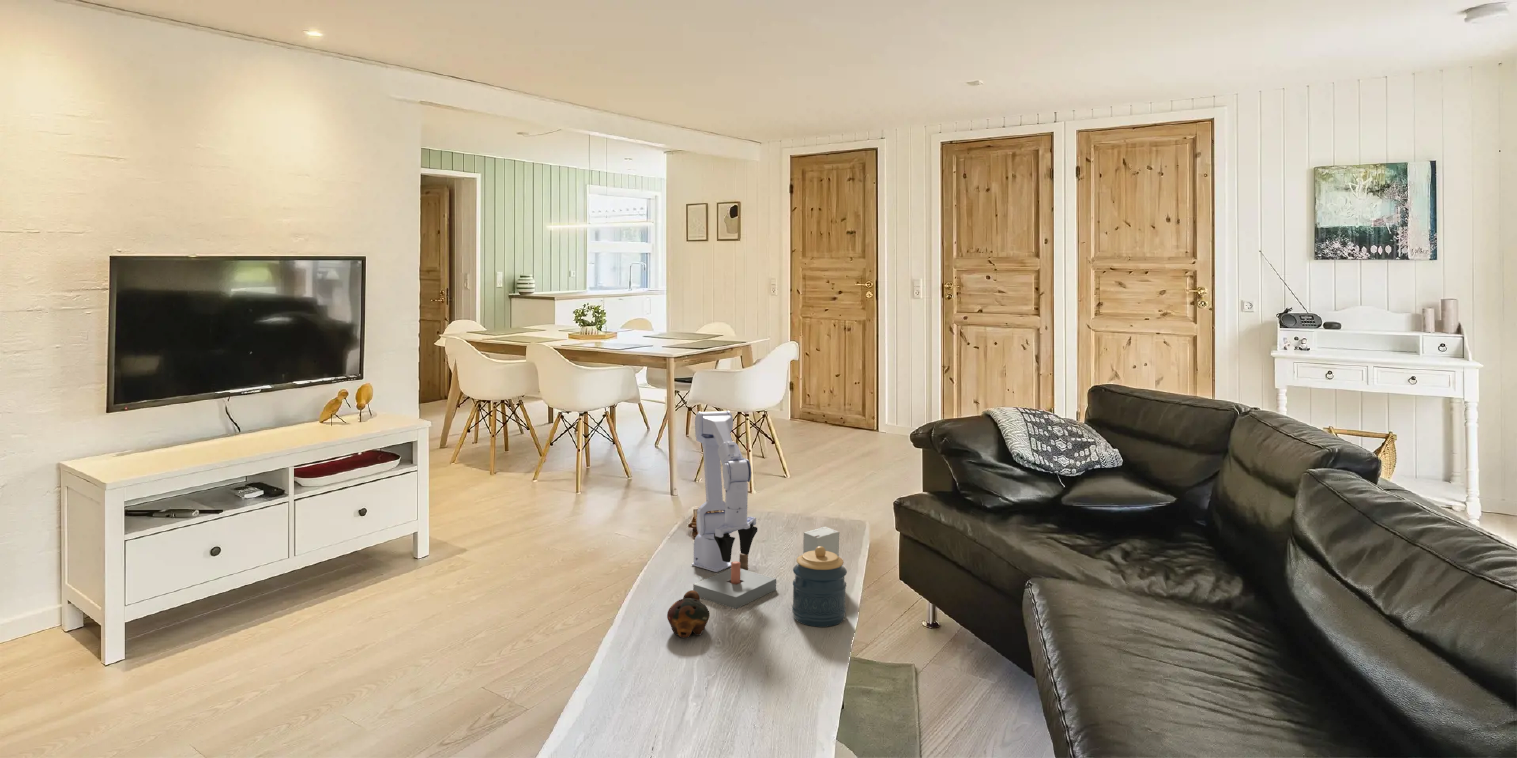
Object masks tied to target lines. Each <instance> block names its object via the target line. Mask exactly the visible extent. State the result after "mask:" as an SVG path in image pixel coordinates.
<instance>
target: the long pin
mask: <svg viewBox="0 0 1517 758" xmlns="http://www.w3.org/2000/svg"><path fill="white" fill-rule="evenodd" d="M730 562H731V561H730ZM730 569H731V583H732V584H736V585H737V584H739V583H740V562H739V561H732V562H731V567H730Z"/></svg>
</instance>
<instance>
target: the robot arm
mask: <svg viewBox="0 0 1517 758" xmlns="http://www.w3.org/2000/svg"><path fill="white" fill-rule="evenodd" d="M733 427H734V418H733V414H732V413H731V411H730V410H724V411H721V410H720V411H697V412H696V414H695V419H694V431H695V433H694V434H695V435H694V436H695V439H696V441H697V442H698V443H701V446H702V451H703V469H704V484H705V486H704V487H705V499H706V500H705V501H704V503H702V504H701V505H700V506H699V507H698V508H697V510H696V521H695V522H696V530H697V531H696V532H697V533H698V534H696V536H695V538H694V541H693V562H692V563H691V565H692V566H693V567H697V568H701V569H704V570H707V571H712V572H713V573H720V571H721V572H722V571H724V570H725V569H728V568H731V560H732V552H733V546H734V542H735V540H736V537H734V536H731V534H732V533H733V532H736V531H737V532H738V538H739V551H740V553H742V554H745V555H748V556H749V553H750V549H751V547H752V543H753V540H754V537H755V536H756V534H757V532H758V527H757V526H756V525H757V518H756V517H754V516H748V499H749V498H748V497H749V496H748V495H749V494H748V493H749V491H748V490H749V484H748V483H749V482H751V479H752V465H751V463H750V460H749V459H747V458H746V457H743V455H742V452H741V449H740V446H739V445H738V443H737V442H735V441H733V438H732V435H731V433H732V431H733ZM721 466H722V467H721ZM721 468H722V469H721ZM722 478H723V481H722ZM722 484H723V485H722ZM723 488H724V489H725V492H724V493H725V494H724V496H725V500H723V499H724V497H723ZM713 511H714V512H713ZM715 511H716V512H715ZM718 511H719V512H718Z"/></svg>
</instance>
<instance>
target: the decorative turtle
mask: <svg viewBox="0 0 1517 758" xmlns="http://www.w3.org/2000/svg"><path fill="white" fill-rule="evenodd" d="M700 599H701V598H700V597H699V594H698V593H697V592H696V591H694V590H688V591H686V592H685V594H684V595H683V598H681V599H678V600H677V601H675V602H673V604H672V605H671V606H670V607H669V608H668V610H667V615H666V618H667V621H668V623H669V625H670V628H671V629H672V632H673V633H674V634H675V635H676V634H678V635H677V636H678V637H680V638H681V639H683V638H684V639H687V638H689V637H690V636H691V635H692V632H693V633H694V634H695V636H701V635H702V634H703V632H704V630H705V628H706V627H707V624H708V621H709V618H710V611H709V608H708V607H707V605H705V603H703V602H702V601H701V600H700ZM700 634H701V635H700Z"/></svg>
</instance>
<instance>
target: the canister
mask: <svg viewBox="0 0 1517 758" xmlns="http://www.w3.org/2000/svg"><path fill="white" fill-rule="evenodd" d="M796 563H797V564H795V565H794V566H793V568H792V572H793V574H794V579H793V580H792V586H793V587H792V588H793V591H792V594H793V595H792V605H791V610H792V612H791V613H792V617H793V618H794V620H796V622H798V623H800V624H802V625H806V626H810V627H822V628H823V627H832V626H836V625H839V624H840V623H842V622H844V620H845V618H846V617H845V615H846V611H847V608H846V592H847V591H846V589H847V582H846V581H845V576H846V575H847V573H848V570H847V569H846V566H845V567H844V559H843V558H842V557H840V555H839V556H837V555H836V554H835V553H832V552H829V551H826V550H825V548H824V547H822V546H818V547H817V548H816V549H815V551H808V552H805V553H804V554H803V553H802V554H801V555H798V557H797V558H796Z"/></svg>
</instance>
